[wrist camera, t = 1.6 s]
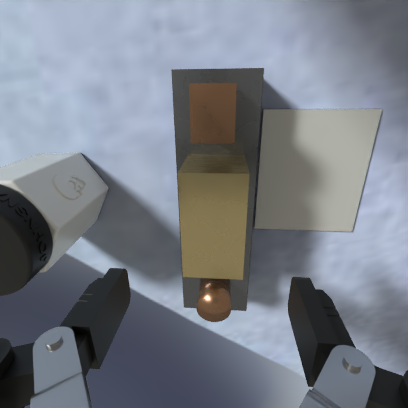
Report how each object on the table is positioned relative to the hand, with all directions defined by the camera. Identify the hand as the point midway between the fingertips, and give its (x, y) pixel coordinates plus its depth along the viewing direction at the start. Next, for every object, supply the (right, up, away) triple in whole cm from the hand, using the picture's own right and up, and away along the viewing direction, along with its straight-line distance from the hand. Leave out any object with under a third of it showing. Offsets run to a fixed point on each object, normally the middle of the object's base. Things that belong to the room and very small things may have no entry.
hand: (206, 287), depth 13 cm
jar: (-15, +6, +16) cm, 22 cm away
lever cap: (+1, +4, +9) cm, 10 cm away
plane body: (+1, +5, +14) cm, 15 cm away
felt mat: (+10, +7, +13) cm, 18 cm away
